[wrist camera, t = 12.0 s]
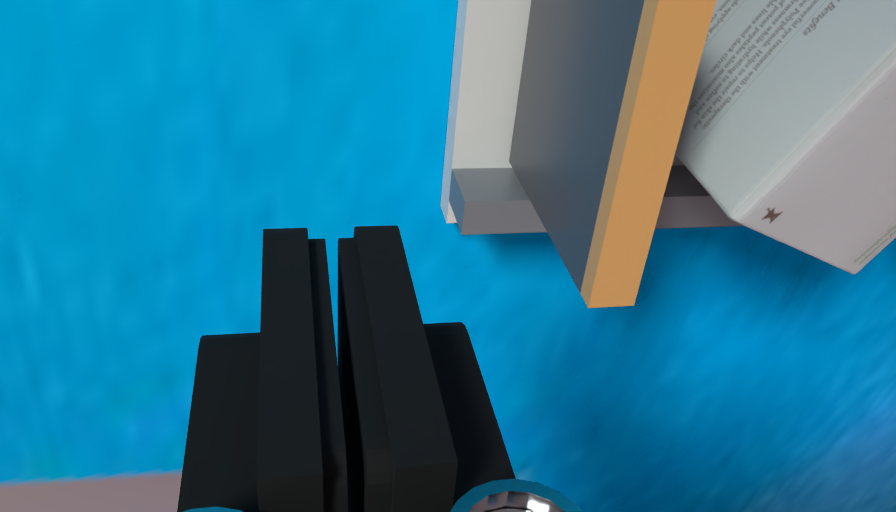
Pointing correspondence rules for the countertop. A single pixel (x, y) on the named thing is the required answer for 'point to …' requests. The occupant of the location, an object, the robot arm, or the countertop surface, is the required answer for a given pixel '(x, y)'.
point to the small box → (800, 123)
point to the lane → (491, 129)
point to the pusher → (604, 128)
